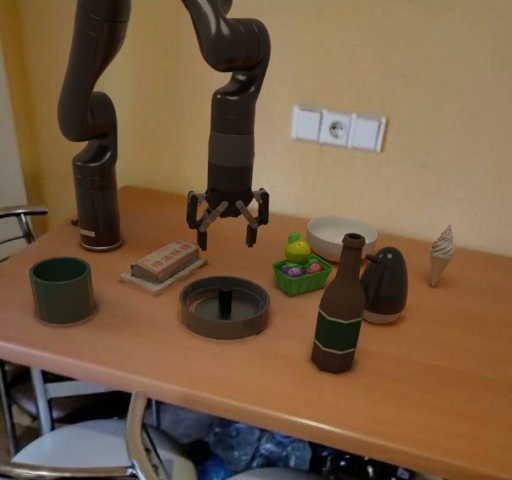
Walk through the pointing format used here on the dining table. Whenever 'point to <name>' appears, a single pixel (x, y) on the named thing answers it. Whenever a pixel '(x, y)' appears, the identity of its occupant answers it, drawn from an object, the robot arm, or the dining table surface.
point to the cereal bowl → (337, 235)
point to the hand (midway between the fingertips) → (226, 247)
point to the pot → (62, 290)
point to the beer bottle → (341, 311)
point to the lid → (224, 306)
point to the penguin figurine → (385, 285)
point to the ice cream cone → (441, 254)
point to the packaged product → (164, 266)
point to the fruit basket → (300, 268)
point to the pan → (224, 327)
